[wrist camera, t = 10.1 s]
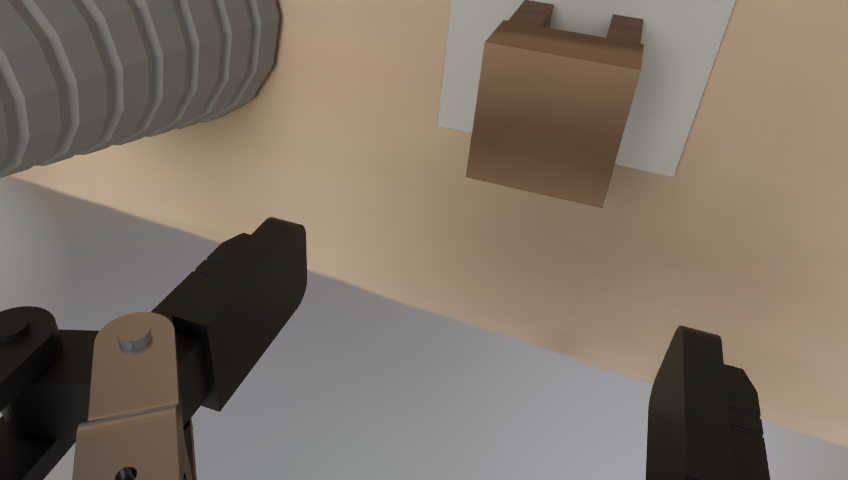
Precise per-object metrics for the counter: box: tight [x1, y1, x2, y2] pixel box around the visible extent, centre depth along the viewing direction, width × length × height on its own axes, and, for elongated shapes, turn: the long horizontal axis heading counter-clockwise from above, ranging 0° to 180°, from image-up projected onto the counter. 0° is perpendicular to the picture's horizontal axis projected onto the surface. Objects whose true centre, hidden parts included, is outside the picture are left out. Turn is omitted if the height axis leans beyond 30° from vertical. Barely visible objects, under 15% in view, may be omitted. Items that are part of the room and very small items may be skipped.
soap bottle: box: [0, 0, 280, 178], centre depth 24 cm, size 12×12×20 cm
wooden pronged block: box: [466, 0, 644, 208], centre depth 25 cm, size 5×5×7 cm
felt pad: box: [437, 0, 736, 177], centre depth 28 cm, size 8×11×1 cm
